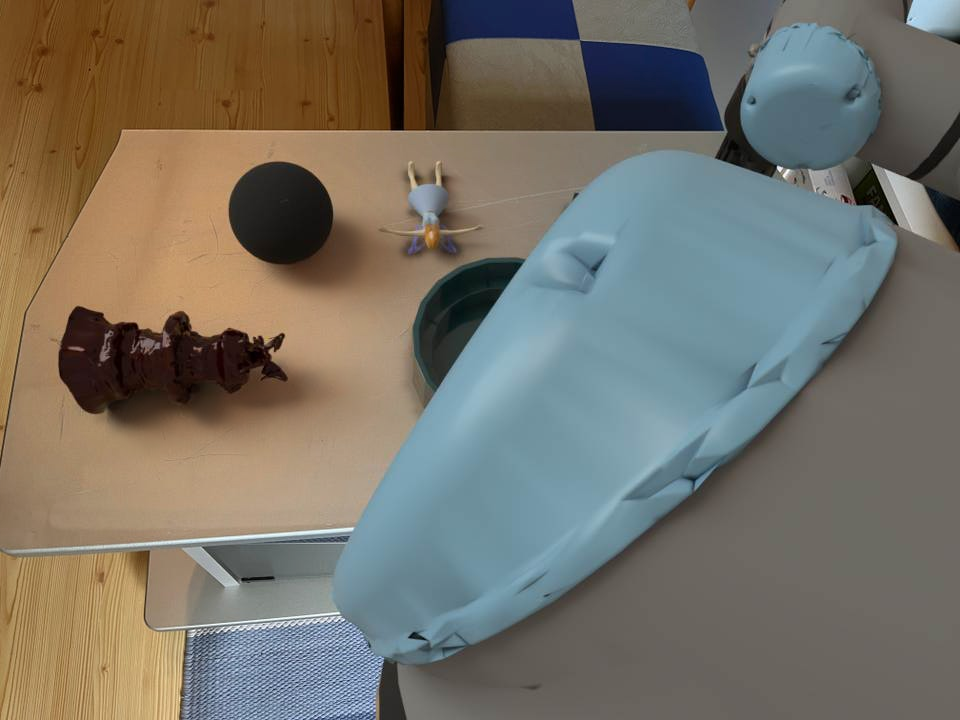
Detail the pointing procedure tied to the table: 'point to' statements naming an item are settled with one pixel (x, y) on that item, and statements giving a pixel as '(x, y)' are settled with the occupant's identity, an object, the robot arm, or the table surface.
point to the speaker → (280, 213)
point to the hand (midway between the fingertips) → (684, 266)
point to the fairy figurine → (429, 211)
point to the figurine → (155, 359)
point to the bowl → (454, 318)
